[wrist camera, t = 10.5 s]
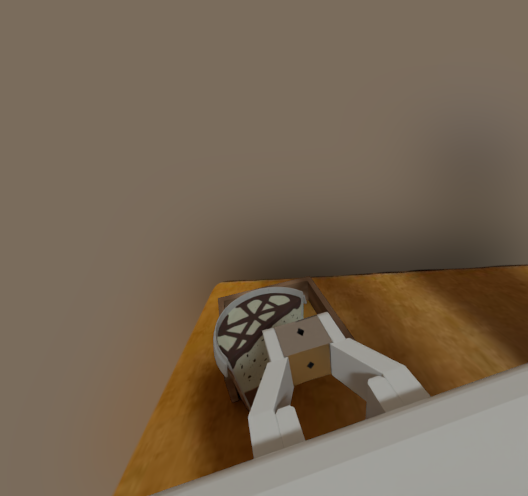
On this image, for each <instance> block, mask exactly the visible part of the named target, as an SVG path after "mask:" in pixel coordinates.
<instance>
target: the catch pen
mask: <svg viewBox="0 0 528 496" xmlns="http://www.w3.org/2000/svg"><path fill="white" fill-rule="evenodd" d="M267 287H287V288H293V289H297V290H300V291H302V292H303V295H305V299H306V300H309V301H310V303H311V305H312V306H313V308H314V310H315V311H316V313H317V315H318V314H321V313H324V312H328V313H329V314H330V316H331V317H332V319H333V320H334V322H335V323H336V325H337V326H338V328H339V329H340V331H341V332H342V334H343V335H344V337H345V338H346V339H347V338H350V339H352V340H354V341H355V339H354V338H353V336H352V335H351V334H350V332H349V331H348V329H347V328H346V327H345V325H344V324H343V322H342V321H341V320H340V318H339V317H338V315H337V314H336V312H335V311H334V310H333V308H332V307H331V305H330V304H329V303H328V301H327V300H326V298H325V297H324V296H323V294H322V293H321V291H320V290H319V288H318V287H317V286H316V284H315V283H314V281H313V280H312V279H311V277H310V276H308V277H304V278H299V279H295V280H291V281H287V282H283V283H279V284H275V285H271V286H266V287H262V288H267ZM258 289H261V288H258ZM258 289H254V290H258ZM254 290H250V291H246V292H242V293H238V294H234V295H229V296H225V297H221V298H218V304H219V316H220V315H221V313H222V312H223V311H224V309H225V308H226V307H227V306H228V305H229V304H230V303H232V302H233V301H234V300H235V299H237V298H239V297H240V296H242V295H244V294H246V293H249V292H251V291H254ZM227 373H228V377H227V378H226V377H225V376H224V377H225V383H226V386H227V389H228V392H229V395H230V398H231V401H232V402H236V401H239V398H238V390H237V388H236V386H235V384H234V382H233V380H232V378H231V376H230V374H229V372H228V370H227Z"/></svg>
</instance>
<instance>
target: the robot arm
mask: <svg viewBox="0 0 528 496" xmlns="http://www.w3.org/2000/svg"><path fill="white" fill-rule="evenodd" d="M262 333H263V337H264V341H265V346H266V350H267V354H268V358H269V363H267V366H266V369H265V371H264V374H263V377H262V380H261V383H260V385H259V388H258V391H257V394H256V396H255V399H254V402H253V405H252V408H251V410H250V413H249V416H248V422H249V429H250V436H251V442H252V449H253V456H254V459H252V460H249V461H246V462H244V463H241V464H238V465H235V466H232V467H229V468H227V469H224V470H221V471H218V472H215V473H212V474H209V475H207V476H204V477H201V478H198V479H195V480H192V481H190V482H187V483H184V484H181V485H178V486H175V487H172V488H170V489H167V490H164V491H161V492H158V493H155V494H152V495H150V496H528V363H526V364H523V365H520V366H517V367H514V368H512V369H509V370H506V371H503V372H500V373H497V374H494V375H492V376H489V377H486V378H483V379H480V380H477V381H475V382H472V383H469V384H466V385H463V386H460V387H457V388H455V389H452V390H449V391H446V392H443V393H440V394H437V395H435V396H432V397H431V396H430V395H429V394H428V393H427V391H426V390H425V389H424V388H423V387H422V385H421V384H420V383H419V382H418V381H417V379H416V378H415V377H414V376H413V375H412V373H411V372H410V371H409V370H408V369H407V367H406V366H404V365H402V364H400V363H398V362H396V361H394V360H392V359H390V358H388V357H386V356H384V355H382V354H380V353H378V352H376V351H374V350H372V349H370V348H368V347H366V346H364V345H362V344H360V343H358V342H356V341H354V340H352V339H350V338H347V339H346V338H345V337H344V335H343V334H342V332H341V331H340V329H339V328H338V326H337V325H336V323H335V322H334V320H333V319H332V317H331V316H330V314H329V313H328V312H324V313H321V314H318V315H314V316H311V317H308V318H304V319H301V320H298V321H295V322H292V323H288V324H284V325H280V326H276V327H274V328H270V329H266V330H262ZM329 374H332V375H333V376H334V377H335V378H337V379H338V380H339V381H341V382H342V383H343V384H344V385H346V386H347V387H348V388H350V389H351V390H352V391H354V392H355V393H356V394H358V395H359V396H360V397H361V398H363V399H364V400H365V401H367V404H366V420H363V421H360V422H357V423H355V424H352V425H349V426H346V427H343V428H340V429H338V430H335V431H332V432H329V433H326V434H323V435H321V436H318V437H315V438H312V439H309V440H306V441H305V438H304V435H303V432H302V429H301V426H300V423H299V420H298V417H297V414H296V411H295V408H294V407H292V406H290V404H291V399H292V394H293V389H294V386H295V385H298V384H301V383H304V382H306V381H309V380H312V379H316V378H319V377H322V376H326V375H329Z"/></svg>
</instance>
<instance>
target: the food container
mask: <svg viewBox="0 0 528 496" xmlns="http://www.w3.org/2000/svg"><path fill="white" fill-rule="evenodd" d="M303 303H305V304H306V303H307V302H306V299H305V295H303V292H302V291H300V290H297V289H293V288H287V287H267V288H261V289H258V290H254V291H251V292H249V293H246V294H244V295H242V296H240V297H239V298H237V299H235V300H234V301H233V302H232V303H230V304H229V305H228V306H227V307H226V308H225V309H224V311H223V312H222V313H221V315H220V317H219V319H218V320H217V323H216V327H215V331H214V338H213V341H214V356H215V360H216V363H217V365H218V367H219V369H220V371H221V372H222V373H223V374H224V376H225V377H226V378H227V377H228V373H227V370H228V372H229V374H230V376H231V378H232V380H233V382H234V384H235V386H236V388H237V390H238V392H239V395H240V397H241V399H242V401H243V403H244V405H245V406H246V408H247V410H248V411H249V412H250V410H251V408H252V405H253V402H254V399H255V396H256V394H257V391H258V388H259V385H260V383H261V380H262V377H263V374H264V371H265V369H266V366H267V363H269V358H268V354H267V350H266V346H265V341H264V337H263V333H262V330H266V329H270V328H274V327H276V326H280V325H284V324H288V323H292V322H295V321H298V320H301V319H303Z"/></svg>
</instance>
